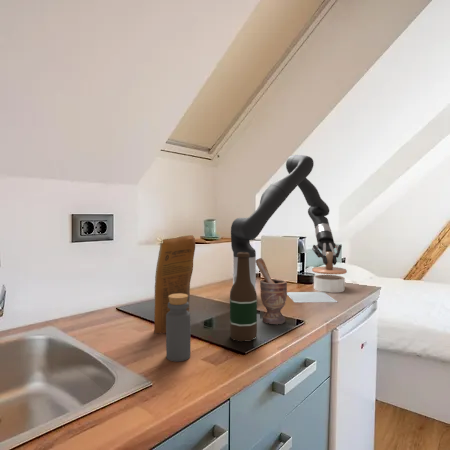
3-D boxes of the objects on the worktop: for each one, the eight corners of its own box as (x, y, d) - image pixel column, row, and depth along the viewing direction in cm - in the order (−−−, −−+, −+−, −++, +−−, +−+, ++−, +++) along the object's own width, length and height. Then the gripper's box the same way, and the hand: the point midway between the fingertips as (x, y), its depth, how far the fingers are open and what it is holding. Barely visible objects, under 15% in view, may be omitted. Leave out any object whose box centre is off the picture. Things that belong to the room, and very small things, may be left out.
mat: (294, 303, 130) (294, 302, 130) (285, 293, 147) (285, 292, 147) (338, 303, 131) (338, 301, 131) (323, 293, 148) (323, 291, 148)
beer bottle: (259, 334, 97) (259, 251, 97) (254, 344, 90) (254, 254, 89) (233, 331, 99) (233, 250, 99) (226, 341, 92) (226, 253, 91)
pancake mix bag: (202, 320, 110) (202, 235, 109) (162, 338, 94) (161, 238, 93) (186, 317, 114) (186, 234, 113) (144, 333, 98) (144, 237, 97)
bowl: (319, 293, 147) (319, 280, 147) (310, 287, 160) (310, 274, 160) (348, 293, 147) (349, 279, 147) (337, 287, 160) (337, 274, 160)
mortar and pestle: (247, 321, 109) (247, 259, 109) (258, 314, 117) (258, 256, 116) (280, 327, 103) (281, 262, 103) (290, 319, 111) (290, 259, 110)
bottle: (191, 351, 85) (191, 292, 85) (189, 361, 79) (189, 298, 79) (168, 351, 85) (167, 292, 84) (164, 362, 79) (164, 298, 78)
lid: (318, 274, 146) (318, 253, 145) (308, 268, 161) (308, 250, 160) (352, 274, 146) (352, 253, 146) (338, 268, 161) (339, 249, 161)
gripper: (310, 229, 161) (316, 258, 149) (340, 229, 160) (348, 258, 148) (308, 240, 166) (313, 268, 154) (337, 240, 165) (344, 268, 154)
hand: (330, 263), depth 151 cm, fingers closed on lid, 3 cm apart
